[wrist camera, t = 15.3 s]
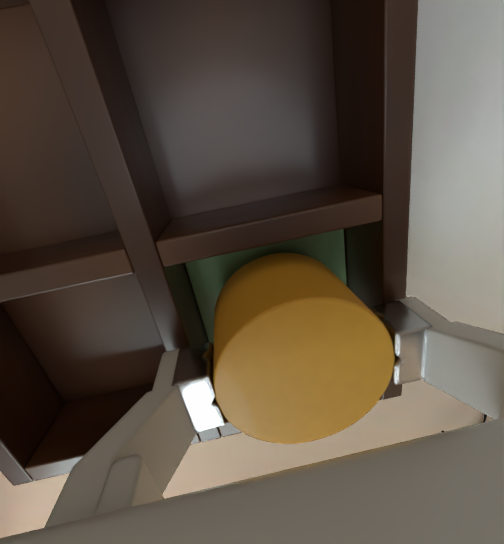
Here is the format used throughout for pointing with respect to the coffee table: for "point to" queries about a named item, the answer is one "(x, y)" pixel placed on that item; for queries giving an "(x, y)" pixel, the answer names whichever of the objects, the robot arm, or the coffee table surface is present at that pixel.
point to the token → (296, 351)
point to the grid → (181, 186)
